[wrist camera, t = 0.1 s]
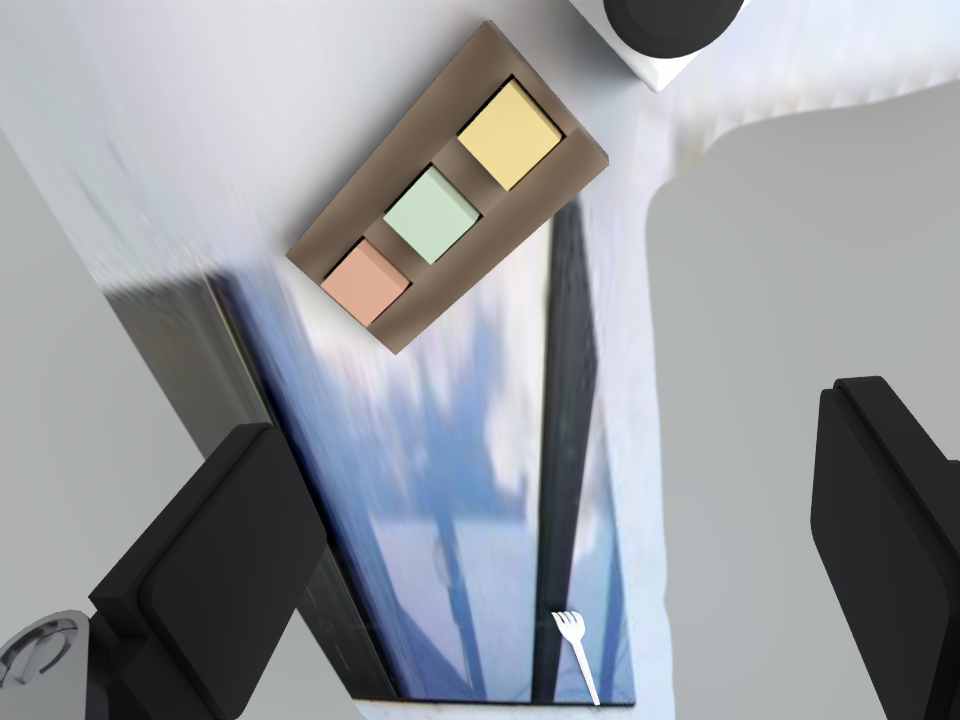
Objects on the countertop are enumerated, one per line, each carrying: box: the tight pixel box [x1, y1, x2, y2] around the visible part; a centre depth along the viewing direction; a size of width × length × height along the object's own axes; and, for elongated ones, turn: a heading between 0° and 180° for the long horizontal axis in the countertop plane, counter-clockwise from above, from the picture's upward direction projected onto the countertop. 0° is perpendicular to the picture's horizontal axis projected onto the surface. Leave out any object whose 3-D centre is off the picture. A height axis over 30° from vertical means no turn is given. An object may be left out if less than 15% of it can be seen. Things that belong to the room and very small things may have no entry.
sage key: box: [383, 165, 481, 265], centre depth 44 cm, size 5×5×3 cm
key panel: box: [285, 21, 609, 355], centre depth 45 cm, size 12×23×3 cm, turn 136°
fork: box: [552, 611, 600, 705], centre depth 72 cm, size 3×20×2 cm, turn 17°
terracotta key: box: [320, 238, 410, 327], centre depth 48 cm, size 5×5×3 cm
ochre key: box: [458, 78, 562, 191], centre depth 40 cm, size 5×5×3 cm
